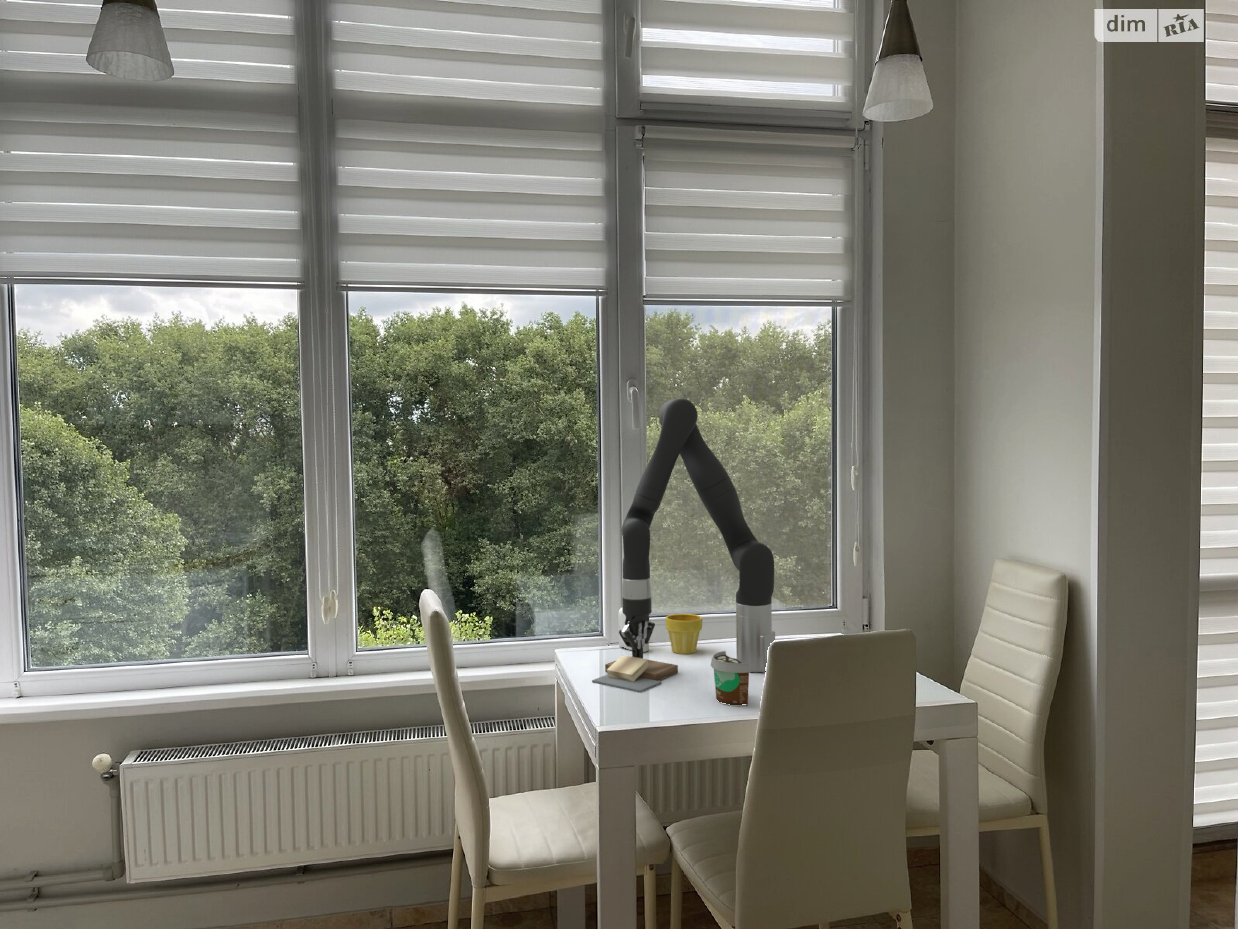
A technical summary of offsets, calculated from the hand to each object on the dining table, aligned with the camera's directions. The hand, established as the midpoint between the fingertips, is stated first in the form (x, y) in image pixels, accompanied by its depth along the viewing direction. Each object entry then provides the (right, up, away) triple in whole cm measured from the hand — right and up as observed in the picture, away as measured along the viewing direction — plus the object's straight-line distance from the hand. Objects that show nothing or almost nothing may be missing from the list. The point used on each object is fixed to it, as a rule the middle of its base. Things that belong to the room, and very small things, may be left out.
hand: (637, 662), depth 221 cm
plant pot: (+14, -2, +22) cm, 26 cm away
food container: (+20, -4, -23) cm, 31 cm away
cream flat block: (-2, -2, -4) cm, 5 cm away
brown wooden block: (+1, -3, +1) cm, 3 cm away
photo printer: (-1, -2, +25) cm, 25 cm away
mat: (-3, -3, -8) cm, 9 cm away
